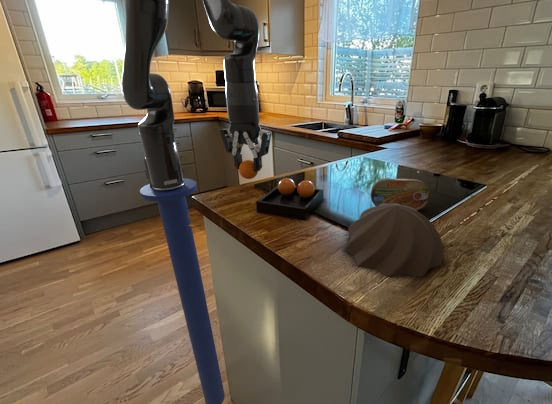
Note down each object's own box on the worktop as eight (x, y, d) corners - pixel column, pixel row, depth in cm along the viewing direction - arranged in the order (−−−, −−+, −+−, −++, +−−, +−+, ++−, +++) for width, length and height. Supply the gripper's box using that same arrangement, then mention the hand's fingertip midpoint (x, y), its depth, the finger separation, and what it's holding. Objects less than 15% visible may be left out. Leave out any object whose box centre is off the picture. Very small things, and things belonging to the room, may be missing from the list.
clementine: (232, 172, 78) (240, 159, 75) (242, 167, 82) (250, 154, 79) (246, 185, 78) (255, 172, 75) (255, 179, 82) (264, 166, 79)
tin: (369, 209, 80) (372, 179, 77) (369, 204, 83) (371, 176, 80) (427, 212, 78) (432, 182, 75) (425, 207, 81) (430, 178, 78)
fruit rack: (256, 212, 79) (254, 189, 77) (280, 193, 91) (279, 173, 89) (305, 220, 75) (304, 196, 72) (323, 199, 87) (323, 178, 84)
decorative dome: (424, 292, 50) (433, 241, 46) (326, 253, 61) (327, 209, 57) (453, 243, 64) (462, 200, 60) (370, 219, 75) (372, 181, 71)
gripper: (276, 102, 72) (279, 168, 79) (227, 99, 77) (233, 163, 84) (260, 104, 66) (265, 177, 73) (208, 102, 71) (217, 170, 78)
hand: (248, 169), depth 78 cm, fingers closed on clementine, 5 cm apart
